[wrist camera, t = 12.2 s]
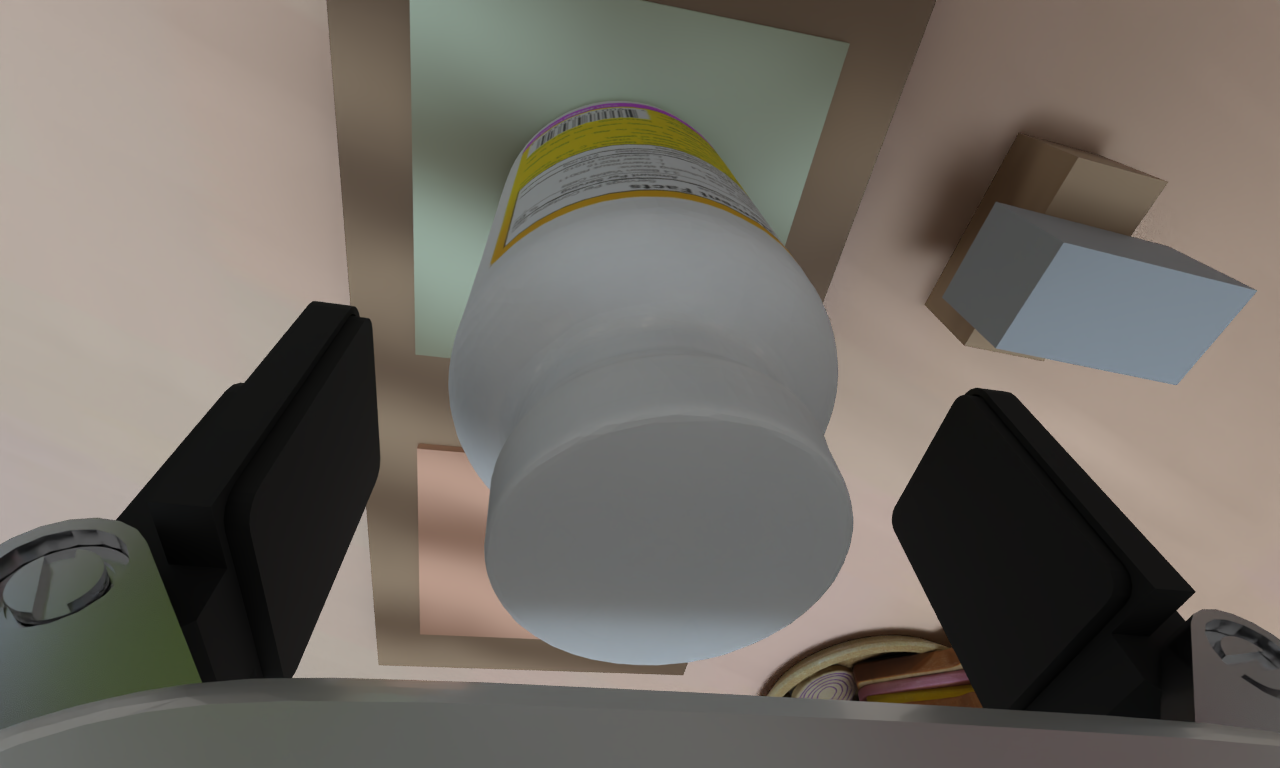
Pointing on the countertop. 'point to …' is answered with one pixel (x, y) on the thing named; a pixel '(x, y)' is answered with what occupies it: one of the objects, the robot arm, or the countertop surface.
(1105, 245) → the brick grey
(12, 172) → the countertop surface
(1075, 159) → the brick walnut
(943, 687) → the toy sandwich meal
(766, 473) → the supplement bottle
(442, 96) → the tile board
